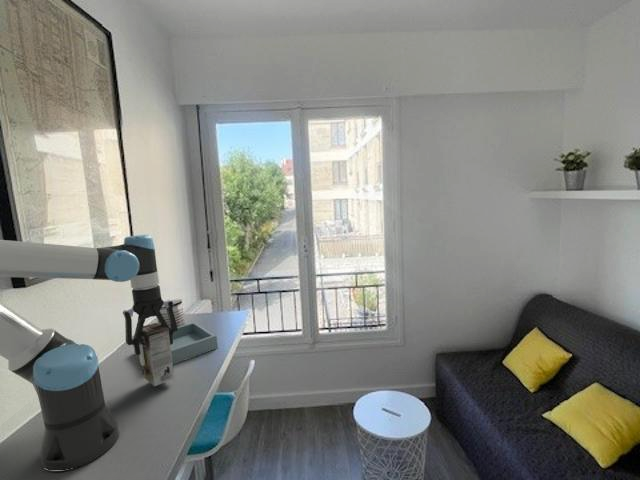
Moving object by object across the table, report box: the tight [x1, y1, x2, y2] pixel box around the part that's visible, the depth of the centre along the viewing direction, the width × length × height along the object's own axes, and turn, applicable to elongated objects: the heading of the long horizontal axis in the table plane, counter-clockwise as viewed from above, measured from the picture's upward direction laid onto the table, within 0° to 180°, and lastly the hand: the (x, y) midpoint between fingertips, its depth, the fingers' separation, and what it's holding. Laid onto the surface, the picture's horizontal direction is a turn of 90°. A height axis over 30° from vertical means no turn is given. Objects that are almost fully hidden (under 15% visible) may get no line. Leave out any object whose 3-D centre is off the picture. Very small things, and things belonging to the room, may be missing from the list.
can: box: [157, 298, 186, 328], centre depth 155 cm, size 11×11×12 cm
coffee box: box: [140, 322, 175, 387], centre depth 106 cm, size 9×6×16 cm
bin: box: [170, 321, 219, 366], centre depth 131 cm, size 22×22×5 cm
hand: (156, 359), depth 106 cm, fingers closed on coffee box, 7 cm apart
